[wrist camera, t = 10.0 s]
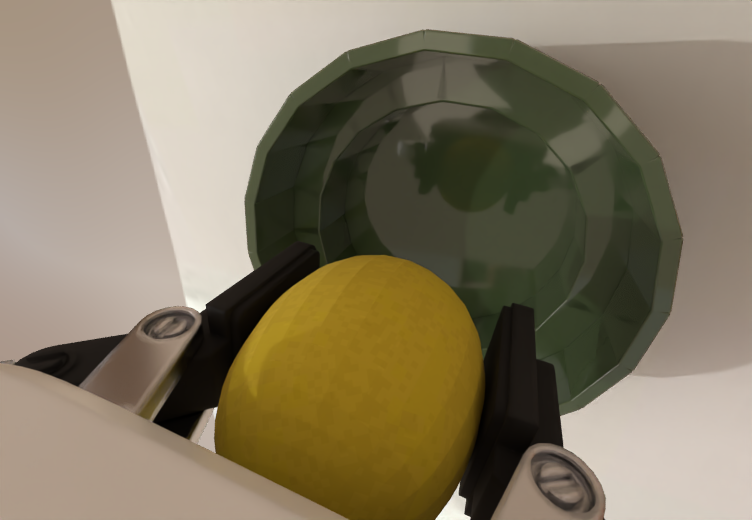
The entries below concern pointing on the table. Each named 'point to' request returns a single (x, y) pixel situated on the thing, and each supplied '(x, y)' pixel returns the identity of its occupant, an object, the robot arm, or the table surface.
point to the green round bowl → (481, 192)
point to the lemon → (359, 391)
